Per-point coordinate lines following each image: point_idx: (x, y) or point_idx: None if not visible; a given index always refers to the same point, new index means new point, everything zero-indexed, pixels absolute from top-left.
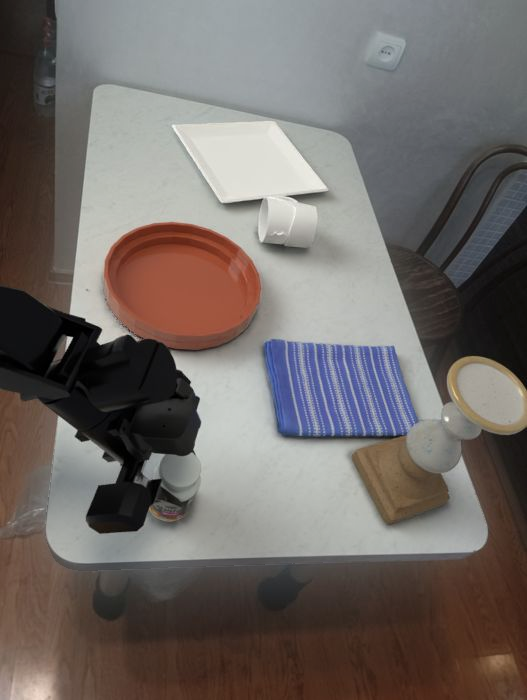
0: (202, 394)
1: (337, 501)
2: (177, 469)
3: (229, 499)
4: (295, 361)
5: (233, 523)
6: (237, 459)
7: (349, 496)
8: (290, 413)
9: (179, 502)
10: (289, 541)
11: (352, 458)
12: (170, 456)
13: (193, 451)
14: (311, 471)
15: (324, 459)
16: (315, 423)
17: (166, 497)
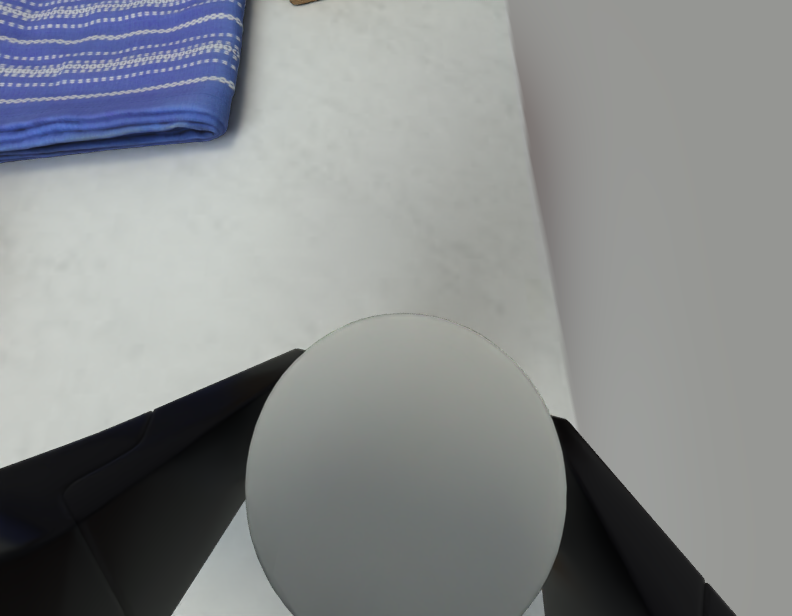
0: (74, 337)
1: (400, 37)
2: (423, 495)
3: (402, 264)
4: (13, 84)
5: (467, 255)
6: (289, 242)
7: (387, 16)
8: (165, 96)
9: (571, 441)
10: (501, 132)
11: (299, 3)
12: (309, 562)
13: (267, 365)
14: (328, 81)
15: (299, 55)
16: (203, 48)
17: (707, 608)
